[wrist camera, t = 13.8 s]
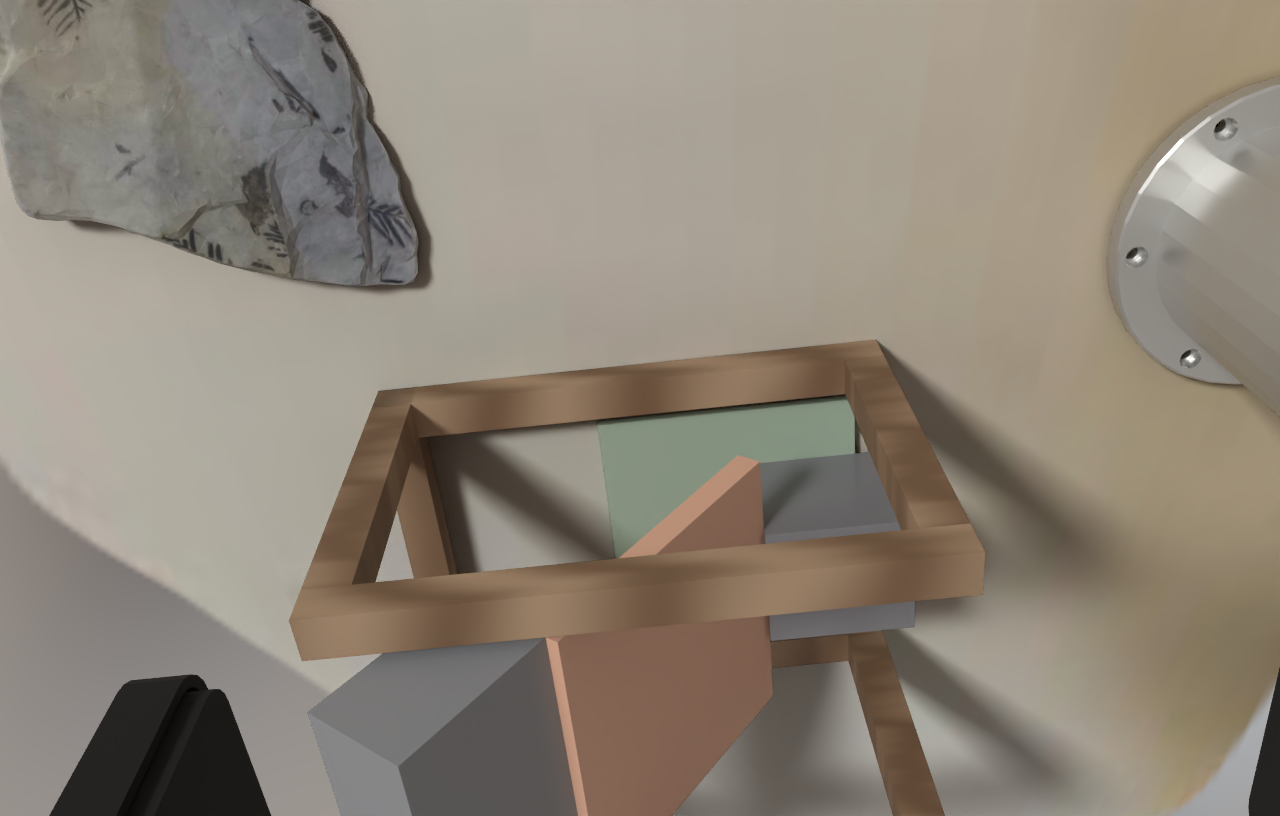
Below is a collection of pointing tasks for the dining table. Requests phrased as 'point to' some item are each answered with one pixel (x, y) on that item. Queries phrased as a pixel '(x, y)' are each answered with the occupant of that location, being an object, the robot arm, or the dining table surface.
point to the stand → (654, 584)
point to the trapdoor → (560, 703)
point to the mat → (706, 453)
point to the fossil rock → (203, 134)
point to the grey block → (829, 532)
